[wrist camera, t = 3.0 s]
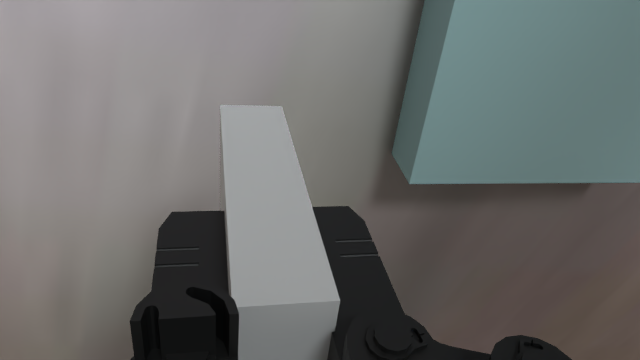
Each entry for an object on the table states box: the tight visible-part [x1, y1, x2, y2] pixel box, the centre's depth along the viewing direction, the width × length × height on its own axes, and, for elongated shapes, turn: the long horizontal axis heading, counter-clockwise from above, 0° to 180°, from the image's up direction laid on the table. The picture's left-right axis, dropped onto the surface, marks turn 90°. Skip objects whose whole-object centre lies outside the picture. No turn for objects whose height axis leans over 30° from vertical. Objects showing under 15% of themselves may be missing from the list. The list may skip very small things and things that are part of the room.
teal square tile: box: [392, 0, 640, 184], centre depth 21 cm, size 10×12×3 cm
